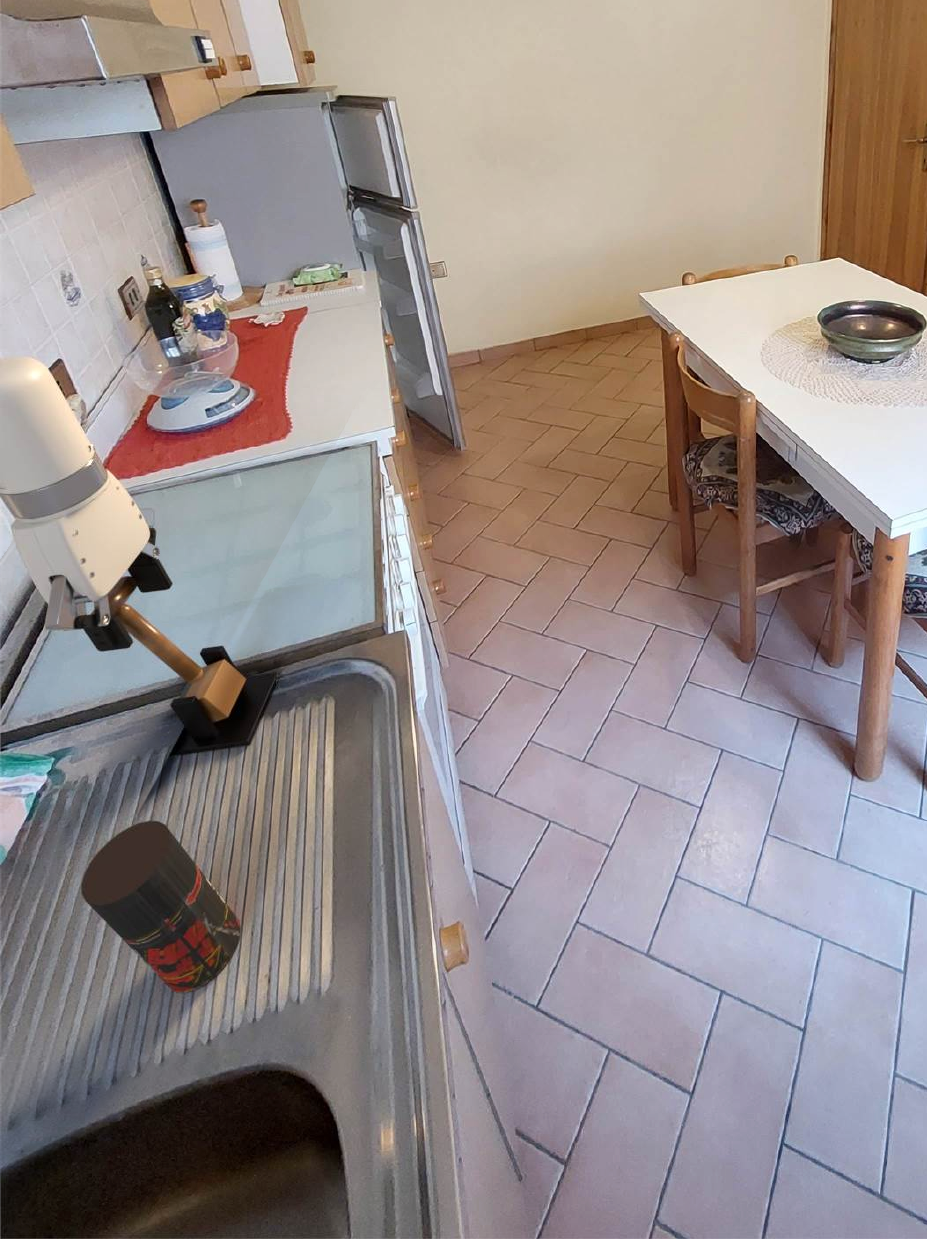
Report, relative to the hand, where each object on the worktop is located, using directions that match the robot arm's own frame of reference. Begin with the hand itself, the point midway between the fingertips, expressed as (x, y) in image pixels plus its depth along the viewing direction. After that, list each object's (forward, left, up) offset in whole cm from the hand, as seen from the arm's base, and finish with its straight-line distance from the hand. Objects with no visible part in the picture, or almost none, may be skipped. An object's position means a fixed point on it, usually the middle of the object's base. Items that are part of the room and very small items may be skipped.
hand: (137, 616), depth 74 cm
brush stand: (+2, 0, -17) cm, 17 cm away
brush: (-2, 0, -7) cm, 7 cm away
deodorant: (+11, -24, -17) cm, 32 cm away
